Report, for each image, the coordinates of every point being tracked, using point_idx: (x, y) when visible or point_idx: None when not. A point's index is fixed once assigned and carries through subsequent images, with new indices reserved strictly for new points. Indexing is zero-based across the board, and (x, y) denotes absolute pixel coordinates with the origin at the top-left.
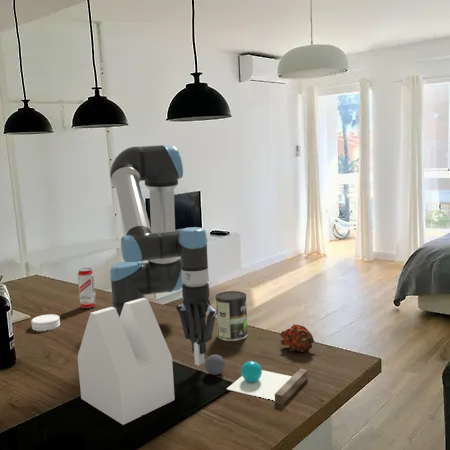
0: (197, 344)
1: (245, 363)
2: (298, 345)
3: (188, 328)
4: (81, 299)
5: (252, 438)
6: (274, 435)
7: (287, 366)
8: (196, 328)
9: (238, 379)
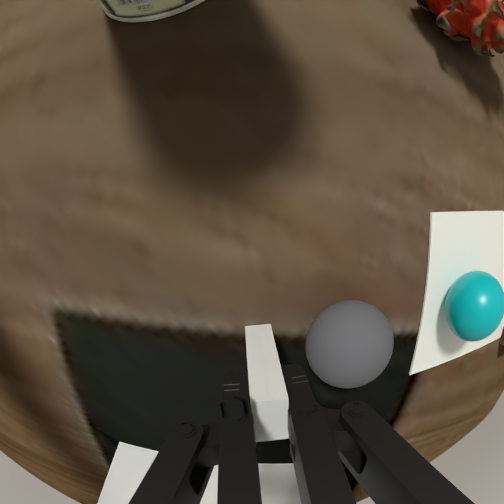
0: (282, 434)
1: (480, 328)
2: (489, 48)
3: (192, 498)
4: None
5: (469, 426)
6: (492, 402)
7: (490, 146)
8: (260, 493)
9: (424, 314)
